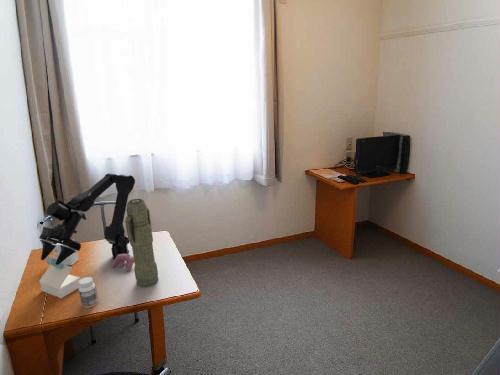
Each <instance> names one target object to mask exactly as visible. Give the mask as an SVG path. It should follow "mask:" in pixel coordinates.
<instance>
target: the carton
mask: <svg viewBox="0 0 500 375" xmlns="http://www.w3.org/2000/svg"><path fill="white" fill-rule="evenodd" d="M80 280H81V278H80V277H79V276H76V275H72V274H70V273H69V274H68V276H67V277H66V279H65V280H64V282H63V284H62V285H61V287H60V288H59V289H57V288H54V287H51V286H49V285H46V284H43V283H40V282H39V284H40V288H41V292H44V293H46V294H49V295H51V296H53V297H56V298H59V299H63V298H64V297H66V296H68V295H69V294H71V293H73V292H74V291H76V290H79V287H80V286H79V281H80Z"/></svg>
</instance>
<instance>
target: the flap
mask: <svg viewBox="0 0 500 375" xmlns="http://www.w3.org/2000/svg"><path fill="white" fill-rule="evenodd" d="M56 261H57V260H56V259H55V257H50V256H47V257H46V258H45V259H44V262H45V263H47V264H48V265H49V266H48V267H47V269H46V270H45V272H44V273H43V274H42V276H41V278H40V279H39V281H38V282H39V284H40V283H43V284H46V285H49V286H51V287H54V288H57V289H59V288H60V287H61V285H62V284H63V282H64V280H65V279H66V277H67V276H68V274H70V273H71V271H72V269H73V267H72V266H71V265H64V264H62V263H60V264H59V265H56V264H55V263H56Z"/></svg>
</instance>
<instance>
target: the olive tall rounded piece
mask: <svg viewBox="0 0 500 375" xmlns="http://www.w3.org/2000/svg"><path fill="white" fill-rule="evenodd" d="M125 212H126V217H125V219H124V220H125V222H124V223H125V228H126V234H127V237H128V241H129V245H130V246H131V251H132V255H133V256H132V257H134V263H133V264H134V268H133V271H134V276H135V280H136V285H137V286H138V287H141V288H148V287H151V286H154V285H155V284H157V283H158V282H159V276H158V275H159V272H158V265H157V264H158V263H157V262H156V261H155V253H154V246H153V242H154V237H153V229H152V228H153V227H152V222H151V221H152V220H151V214H150V210H149V208H148V206H147V204H146V203H145V201H144V199H142V198H134V199H130V200H129V201H127V205H126V210H125Z"/></svg>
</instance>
